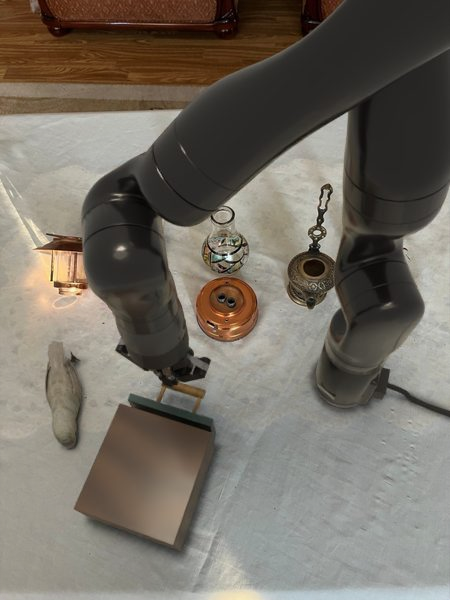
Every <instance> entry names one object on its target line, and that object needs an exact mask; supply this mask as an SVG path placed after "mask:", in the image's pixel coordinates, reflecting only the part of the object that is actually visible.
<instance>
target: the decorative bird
mask: <svg viewBox="0 0 450 600" xmlns="http://www.w3.org/2000/svg"><path fill="white" fill-rule="evenodd" d="M47 347H48V348H47V349H48V351H47V358H48V361H47V366H46V371H45V378H44V392H45V393H44V394H45V397H46V401H47V404H48V406H49V409H50V410H51V416H52V417H51V418H52V419H51V428H52V432H53V435H54V438H55V440H56V441H57V442H58V443H59V444H60V445H61V446H63V447H66V448H73V447H74V446H75V445H76V442H77V435H78V429H77V422H76V419H77V417H78V411H79V408H80V405H81V402H82V387H81V382H80V379H79V376H78V375H79V374H78V373H77V371H76V369H75V366H74V365H75V364H77V361H78V362H80V361H82V360H81V359H79V358H77V356H75V354H74V353H73V352H72V351H70V359H69V358H68V357H66V355H65V354H66V353H65V348H64V343H63V342H61V341H57V340H51V343H49V344H48V346H47Z"/></svg>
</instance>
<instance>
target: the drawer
mask: <svg viewBox="0 0 450 600" xmlns="http://www.w3.org/2000/svg"><path fill="white" fill-rule="evenodd" d="M160 385H161V388H160V391H159V393H158V396H157V398H156V400H154V399H151V398H147V397H144V396H141V395H137V394H135V393H130V394H129V395H128V398H127V402H128V404H129V406H130V407H133V408H136V409H139V410H142V411H145V412H149V413H152V414H155V415H158V416H161V417H164V418H168V419H171V420H174V421H177V422H180V423H183V424H186V425H190V426H193V427H196V428H199V429H202V430H205V431H208V432H212V436H213V440H214V441H215V438H216V435H217V431H216V427H215V421H214V418H211V417H208V416H205V415H202V414H198V413H197V412H198V410H199V407H200V405H201V401H202V400H204V398H205V395H206V389H204V388H201V387H197V386H193V385H192V384H191V385H190V384H187V383H185V382H180V381H179V383H178V385H177V386H176V385H174V387H173V388H172V387H169V386H165V385H163V383H162V382H161V384H160ZM167 389H168V390H171V391H175V392H178V393H181V394H185V395H188V396H191V397H194V398H196V400H195V402H194V406H193V408H192V411H189V410H186V409H183V408H179V407H177V406H173V405H170V404H167V403H163V402H162V400H163V397H164V394H165V392H166V390H167Z"/></svg>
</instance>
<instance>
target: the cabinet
mask: <svg viewBox="0 0 450 600" xmlns="http://www.w3.org/2000/svg"><path fill="white" fill-rule="evenodd" d="M215 445H216V444H215V439H214V440H213V436H212V432H208V431H205V430H202V429H199V428H196V427H193V426H190V425H186V424H183V423H180V422H177V421H174V420H171V419H168V418H164V417H161V416H158V415H155V414H152V413H149V412H145V411H142V410H139V409H136V408H133V407H131V405H127V404H123V403H119V404H118V406H117V409H116V411H115V414H114V415H113V418H112V420H111V422H110V424H109V427H108V428H107V431H106V434H105V436H104V439H103V441H102V443H101V445H100V447H99V449H98V452H97V454H96V456H95V459H94V460H93V463H92V466H91V468H90V469H89V472H88V475H87V477H86V479H85V481H84V484H83V486H82V488H81V491H80V493H79V494H78V495H79V496H78V498H77V500H76V502H75V505H74V506H73V510H74V511H76V512H77V513H79V514H82V515H83V516H86V517H87V518H89V519H91V520H94V521H97V522H99V523H102V524H105V525H108V526H110V527H113V528H116V529H119V530H121V531H124V532H127V533H129V534H131V535H135V536H137V537H140V538H142V539H145V540H148V541H151V542H154V543H156V544H159V545H161V546H165V547H167V548H170V549H172V550H175V551H179V552H182V551H183V549H184V545H185V542H186V540H187V535H188V533H189V530H190V527H191V524H192V521H193V518H194V515H195V512H196V509H197V507H198V503H199V501H200V497H201V494H202V492H203V488H204V485H205V481H206V479H207V476H208V473H209V470H210V467H211V464H212V461H213V458H214V455H215V452H216V446H215Z"/></svg>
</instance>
